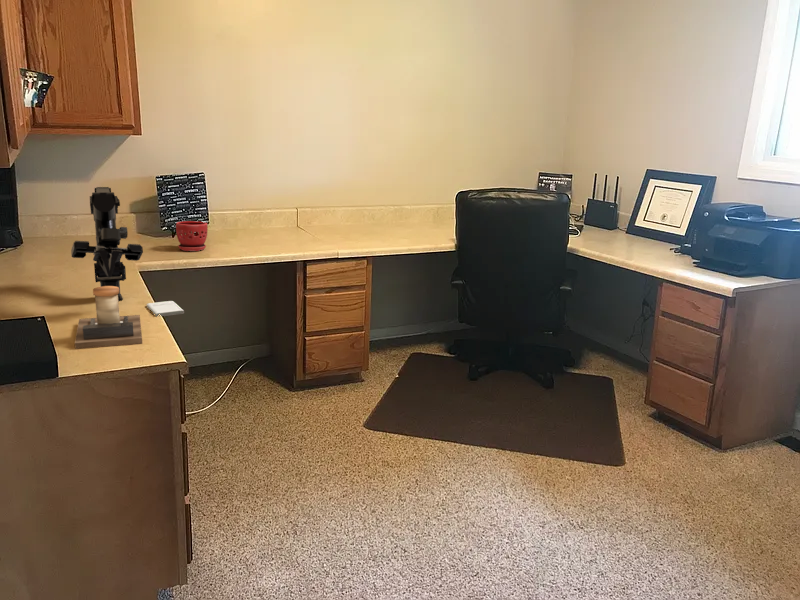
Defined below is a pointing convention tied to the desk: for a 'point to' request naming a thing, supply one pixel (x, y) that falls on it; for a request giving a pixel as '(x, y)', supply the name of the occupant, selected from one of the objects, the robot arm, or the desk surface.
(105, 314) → the knob slider
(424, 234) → the desk surface
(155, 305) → the external hard drive
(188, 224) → the plant pot
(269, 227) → the desk surface
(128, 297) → the desk surface
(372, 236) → the desk surface
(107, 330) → the grey slider guide rails
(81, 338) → the track board
